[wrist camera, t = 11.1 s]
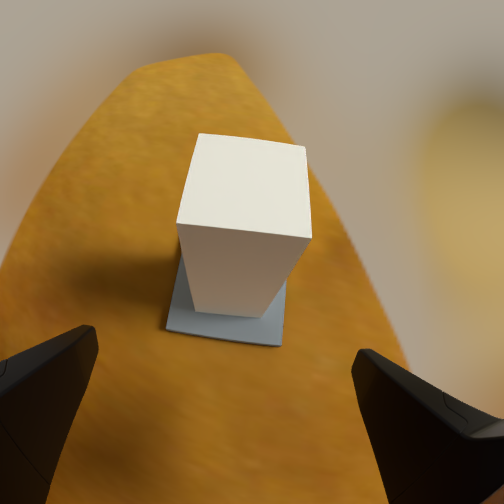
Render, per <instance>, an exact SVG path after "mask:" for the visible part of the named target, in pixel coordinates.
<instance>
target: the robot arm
mask: <svg viewBox="0 0 504 504" xmlns="http://www.w3.org/2000/svg"><path fill="white" fill-rule="evenodd" d="M98 350H99V346H98V341H97V335H96V330H95V328H94V327H93V326H89V325H81V326H79V327H77V328H74V329H72V330H70V331H68V332H65V333H63V334H61V335H59V336H57V337H54V338H52V339H50V340H48V341H45V342H43V343H41V344H39V345H36V346H34V347H32V348H30V349H27V350H25V351H23V352H21V353H19V354H16V355H14V356H12V357H10V358H8V359H5V360H3V361H1V362H0V504H45V503H46V500H47V496H48V493H49V489H50V485H51V482H52V479H53V476H54V472H55V469H56V466H57V463H58V460H59V457H60V455H61V452H62V449H63V446H64V443H65V441H66V438H67V435H68V433H69V430H70V428H71V425H72V422H73V420H74V417H75V415H76V412H77V410H78V408H79V405H80V403H81V400H82V398H83V396H84V393H85V391H86V389H87V386H88V383H89V380H90V376H91V373H92V370H93V367H94V364H95V361H96V358H97V355H98ZM351 373H352V378H353V382H354V387H355V391H356V396H357V400H358V405H359V408H360V412H361V415H362V418H363V421H364V424H365V427H366V430H367V433H368V436H369V439H370V442H371V445H372V448H373V452H374V455H375V458H376V461H377V465H378V468H379V471H380V475H381V478H382V481H383V485H384V488H385V492H386V495H387V499H388V502H389V504H504V419H500V418H496V417H494V416H491V415H489V414H487V413H485V412H483V411H480V410H478V409H476V408H474V407H472V406H469V405H468V404H466V403H463V402H461V401H460V400H458V399H456V398H454V397H452V396H450V395H449V394H447V393H445V392H442V390H440V389H438V388H436V387H434V386H433V385H431V384H429V383H428V382H426V381H424V380H422V379H421V378H419V377H417V376H416V375H414V374H412V373H410V372H409V371H407V370H405V369H404V368H402V367H400V366H399V365H397V364H395V363H394V362H392V361H390V360H388V359H387V358H385V357H383V356H382V355H380V354H378V353H377V352H375V351H373V350H372V349H360V350H359V351H358V352H357V355H356V358H355V360H354V363H353V365H352V369H351Z"/></svg>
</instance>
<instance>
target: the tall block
mask: <svg viewBox="0 0 504 504" xmlns="http://www.w3.org/2000/svg"><path fill="white" fill-rule="evenodd" d="M176 225H177V230H178V235H179V240H180V245H181V250H182V255H183V259H184V264H185V269H186V273H187V278H188V282H189V286H190V291H191V295H192V299H193V303H194V308H195V312H204V313H213V314H222V315H232V316H243V317H254V318H261V317H262V316H263V314H264V313H265V311H266V310H267V308H268V307H269V305H270V304H271V302H272V301H273V299H274V298H275V296H276V294H277V293H278V291H279V290H280V288H281V287H282V285H283V284H284V282H285V280H286V279H287V277H288V276H289V274H290V273H291V271H292V269H293V268H294V266H295V265H296V263H297V261H298V260H299V258H300V257H301V255H302V253H303V252H304V250H305V249H306V247H307V245H308V244H309V242H310V241H311V239H312V230H311V213H310V198H309V184H308V172H307V161H306V150H305V147H303V146H297V145H292V144H285V143H279V142H272V141H265V140H258V139H250V138H242V137H233V136H224V135H213V134H201V133H199V136H198V139H197V143H196V146H195V150H194V154H193V157H192V161H191V165H190V168H189V172H188V176H187V180H186V184H185V188H184V192H183V196H182V200H181V204H180V208H179V213H178V217H177V222H176Z"/></svg>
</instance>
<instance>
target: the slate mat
mask: <svg viewBox="0 0 504 504" xmlns="http://www.w3.org/2000/svg"><path fill="white" fill-rule="evenodd" d="M285 293H286V280H285V282H284V284H283V285H282V287H281V288H280V290H279V291H278V293H277V294H276V296H275V298H274V299H273V301H272V302H271V304H270V305H269V307H268V308H267V310H266V311H265V313H264V314H263V316H262V317H261V318H254V317H243V316H232V315H222V314H213V313H204V312H195V308H194V303H193V299H192V295H191V291H190V286H189V282H188V278H187V273H186V269H185V264H184V259H183V255H182V254H181V259H180V263H179V267H178V272H177V276H176V281H175V286H174V290H173V295H172V300H171V305H170V310H169V315H168V320H167V325H166V329H167V331H172V332H178V333H183V334H189V335H195V336H201V337H207V338H213V339H220V340H227V341H234V342H241V343H249V344H258V345H266V346H276V347H280V346H281V345H282V333H283V320H284V307H285Z"/></svg>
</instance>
